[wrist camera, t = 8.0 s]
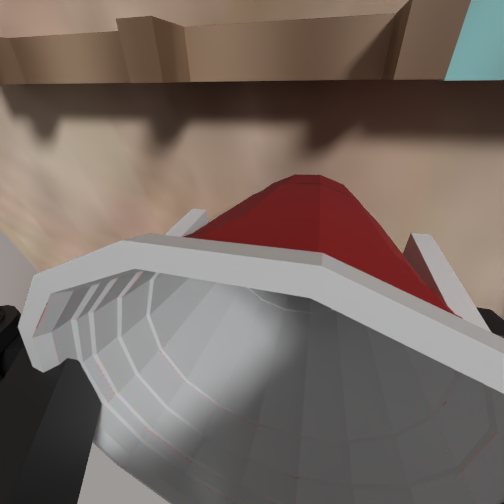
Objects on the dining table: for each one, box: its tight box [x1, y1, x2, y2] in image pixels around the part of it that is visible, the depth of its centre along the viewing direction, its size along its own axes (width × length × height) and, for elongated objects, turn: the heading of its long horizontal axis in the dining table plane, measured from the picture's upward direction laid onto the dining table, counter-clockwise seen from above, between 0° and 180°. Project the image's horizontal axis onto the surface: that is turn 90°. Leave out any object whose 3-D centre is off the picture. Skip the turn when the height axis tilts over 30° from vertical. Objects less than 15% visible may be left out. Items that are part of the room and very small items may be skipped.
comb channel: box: [0, 0, 504, 85], centre depth 13 cm, size 31×16×4 cm, turn 91°
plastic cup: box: [18, 175, 504, 504], centre depth 10 cm, size 11×11×12 cm
